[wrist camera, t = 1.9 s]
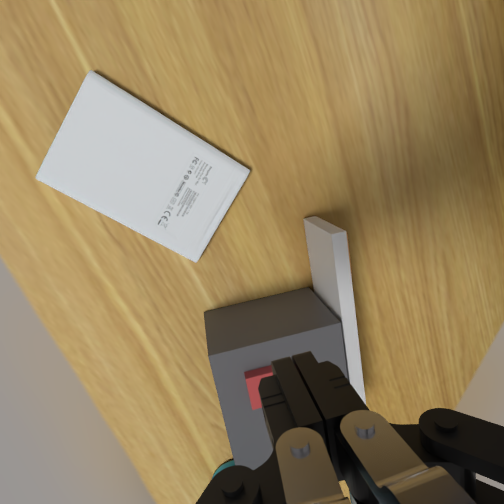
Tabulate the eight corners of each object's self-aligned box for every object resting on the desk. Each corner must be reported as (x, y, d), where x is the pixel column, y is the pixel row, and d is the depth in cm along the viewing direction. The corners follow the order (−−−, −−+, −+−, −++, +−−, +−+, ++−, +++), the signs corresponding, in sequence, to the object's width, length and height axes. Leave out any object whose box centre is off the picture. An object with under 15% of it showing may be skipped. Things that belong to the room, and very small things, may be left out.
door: (302, 218, 30) (329, 234, 24) (322, 214, 30) (354, 228, 24) (329, 403, 34) (357, 453, 29) (346, 398, 35) (378, 447, 29)
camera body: (203, 312, 31) (209, 362, 23) (308, 286, 32) (345, 328, 24) (235, 442, 34) (248, 522, 27) (327, 416, 35) (365, 486, 28)
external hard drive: (95, 73, 26) (248, 169, 29) (42, 177, 27) (195, 259, 30) (89, 68, 24) (251, 170, 27) (33, 179, 25) (196, 264, 28)
